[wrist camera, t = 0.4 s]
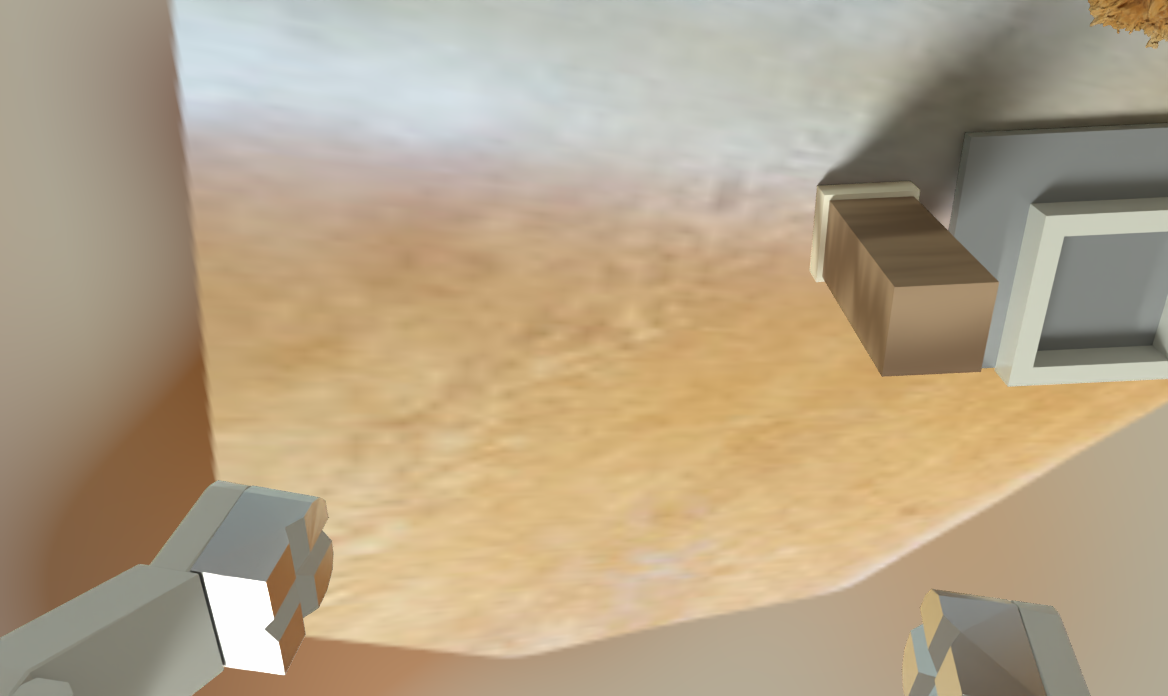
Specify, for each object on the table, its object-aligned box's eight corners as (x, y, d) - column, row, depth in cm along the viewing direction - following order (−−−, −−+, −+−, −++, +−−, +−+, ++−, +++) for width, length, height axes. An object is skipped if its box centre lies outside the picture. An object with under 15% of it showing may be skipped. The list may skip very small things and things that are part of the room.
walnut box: (817, 185, 48) (888, 281, 37) (910, 180, 48) (1007, 275, 37) (809, 270, 50) (874, 382, 40) (898, 266, 50) (986, 377, 40)
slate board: (965, 132, 46) (985, 147, 44) (1234, 119, 46) (1268, 133, 44) (925, 366, 53) (941, 389, 51) (1159, 355, 53) (1185, 377, 51)
